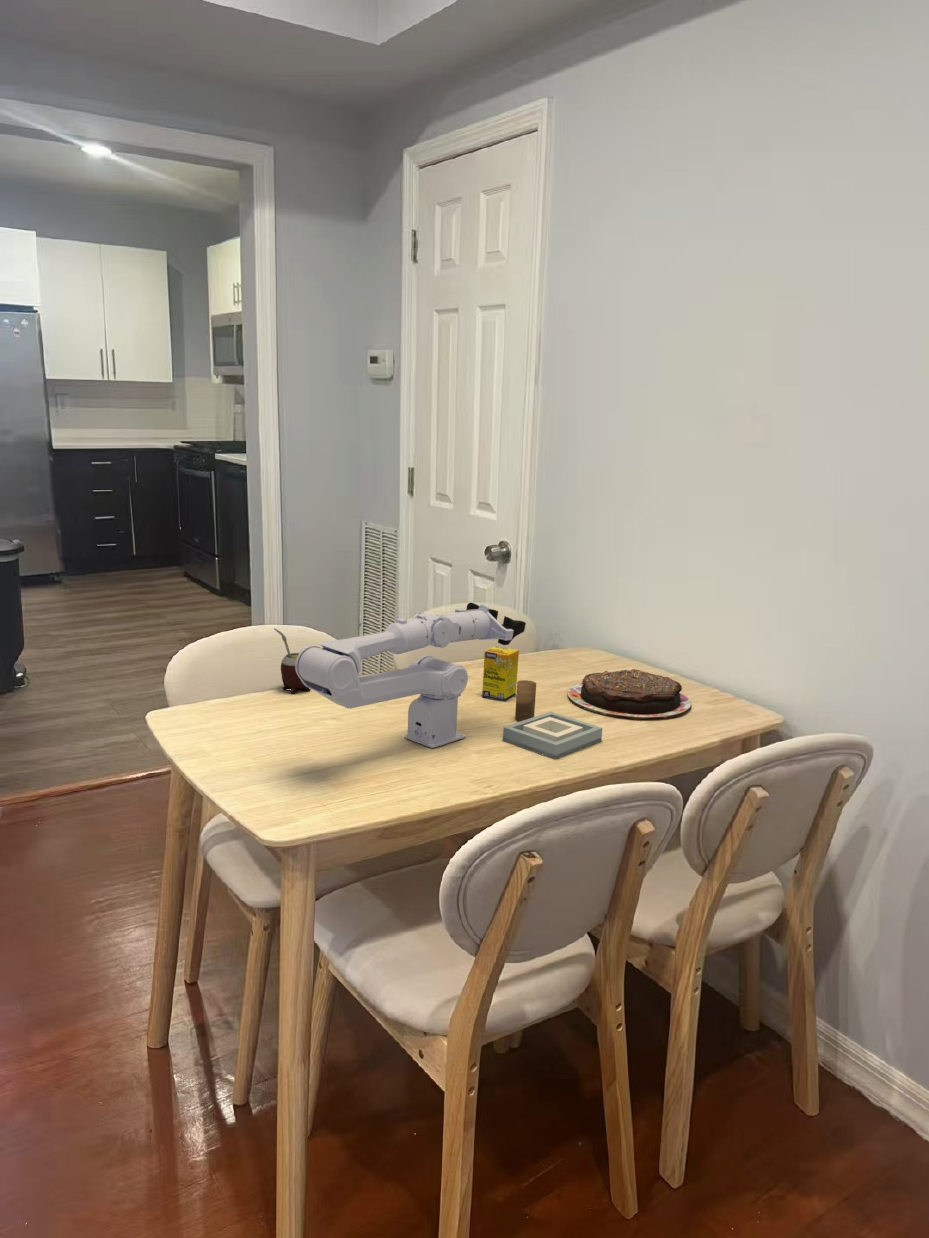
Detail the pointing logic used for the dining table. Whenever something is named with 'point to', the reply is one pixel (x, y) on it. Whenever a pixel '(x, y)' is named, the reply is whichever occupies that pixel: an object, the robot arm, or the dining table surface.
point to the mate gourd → (290, 671)
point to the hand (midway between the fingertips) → (509, 621)
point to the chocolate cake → (630, 695)
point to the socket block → (552, 729)
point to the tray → (548, 747)
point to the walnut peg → (525, 700)
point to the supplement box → (500, 673)
